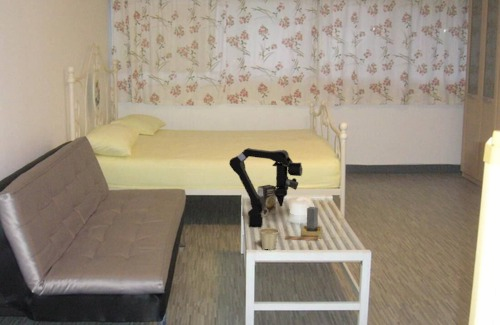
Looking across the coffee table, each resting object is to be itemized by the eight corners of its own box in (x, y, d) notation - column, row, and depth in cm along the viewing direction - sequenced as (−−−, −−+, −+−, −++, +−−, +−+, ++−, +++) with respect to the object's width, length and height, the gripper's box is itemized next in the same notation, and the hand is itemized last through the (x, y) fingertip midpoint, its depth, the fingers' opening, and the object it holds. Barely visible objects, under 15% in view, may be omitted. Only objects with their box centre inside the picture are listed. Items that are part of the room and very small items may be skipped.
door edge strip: (285, 239, 295) (285, 237, 295) (285, 238, 297) (285, 236, 297) (317, 240, 293) (317, 238, 293) (317, 239, 295) (317, 237, 295)
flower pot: (281, 246, 285) (281, 228, 284) (275, 252, 276) (275, 234, 275) (262, 244, 288) (262, 226, 287) (256, 250, 279) (256, 232, 278)
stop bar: (306, 235, 301) (307, 208, 298) (310, 233, 304) (310, 206, 302) (313, 236, 299) (314, 209, 296) (317, 234, 302) (317, 207, 300)
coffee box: (264, 216, 336) (264, 188, 333) (256, 214, 341) (256, 186, 338) (276, 213, 342) (276, 186, 339) (269, 211, 347) (269, 184, 344)
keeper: (301, 238, 297) (301, 231, 297) (302, 232, 307) (302, 225, 306) (321, 238, 296) (322, 232, 296) (321, 232, 306) (321, 226, 305)
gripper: (296, 178, 299) (296, 209, 302) (298, 171, 317) (297, 200, 320) (274, 178, 300) (274, 208, 303) (277, 171, 318) (276, 199, 321)
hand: (281, 204), depth 312 cm, fingers open, 9 cm apart
